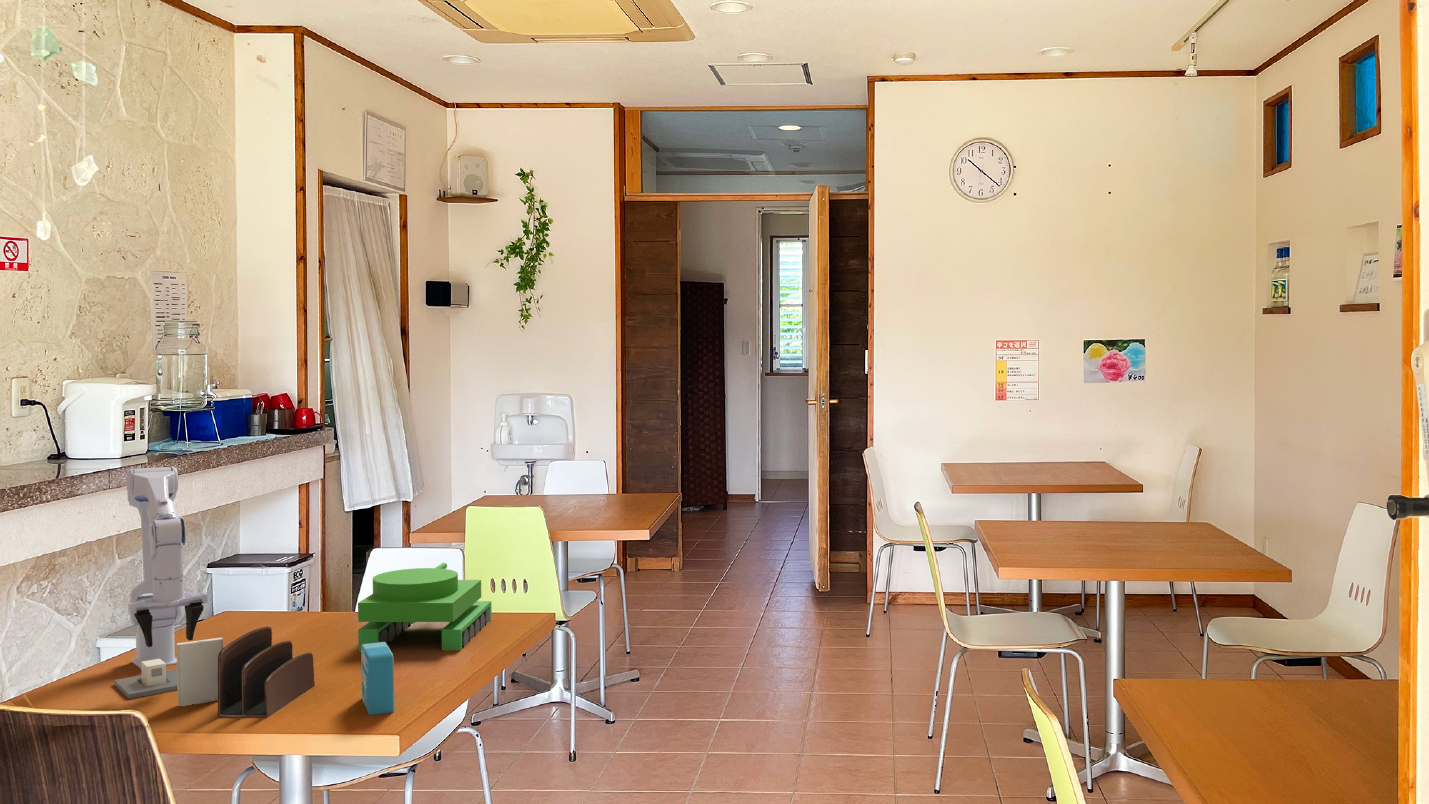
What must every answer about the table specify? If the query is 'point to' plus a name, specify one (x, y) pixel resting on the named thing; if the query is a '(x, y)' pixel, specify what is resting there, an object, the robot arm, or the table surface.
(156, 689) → the jack panel
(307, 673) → the letter holder
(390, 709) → the data package
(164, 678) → the plug
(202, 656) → the external hard drive
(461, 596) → the tank
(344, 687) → the table surface
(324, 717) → the table surface
